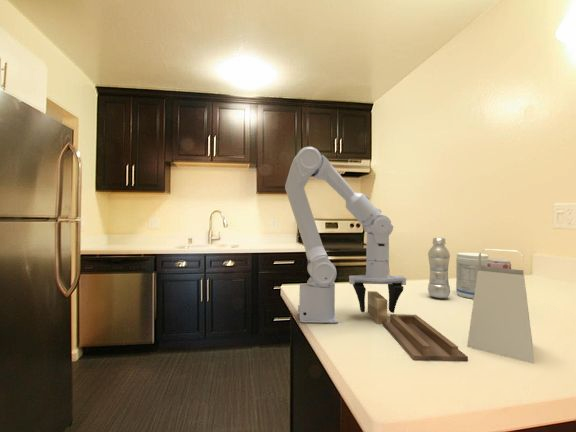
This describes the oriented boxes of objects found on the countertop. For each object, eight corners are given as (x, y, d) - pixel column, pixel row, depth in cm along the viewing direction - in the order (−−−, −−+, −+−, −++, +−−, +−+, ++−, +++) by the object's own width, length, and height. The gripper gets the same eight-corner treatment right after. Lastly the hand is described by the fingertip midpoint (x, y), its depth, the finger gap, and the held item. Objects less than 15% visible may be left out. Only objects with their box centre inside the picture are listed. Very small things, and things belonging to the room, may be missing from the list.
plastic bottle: (453, 301, 94) (453, 239, 94) (430, 299, 95) (431, 238, 95) (446, 296, 100) (446, 238, 100) (425, 294, 101) (425, 237, 101)
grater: (474, 332, 68) (474, 246, 68) (532, 344, 61) (533, 250, 61) (467, 346, 60) (467, 249, 60) (533, 363, 53) (534, 254, 53)
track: (413, 360, 54) (413, 345, 54) (382, 324, 72) (382, 314, 72) (467, 361, 54) (467, 346, 54) (423, 325, 72) (423, 314, 72)
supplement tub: (462, 291, 107) (462, 251, 107) (492, 297, 100) (493, 254, 100) (451, 295, 101) (451, 253, 101) (483, 301, 94) (483, 256, 94)
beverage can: (500, 315, 80) (500, 261, 80) (481, 309, 85) (482, 258, 85) (516, 314, 81) (516, 260, 81) (496, 308, 87) (496, 258, 87)
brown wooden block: (376, 324, 72) (377, 300, 72) (367, 312, 81) (367, 291, 81) (387, 324, 72) (387, 300, 72) (376, 312, 81) (376, 291, 81)
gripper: (399, 258, 81) (398, 307, 81) (347, 257, 81) (346, 306, 81) (409, 262, 74) (409, 315, 74) (352, 261, 74) (351, 314, 74)
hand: (376, 311), depth 77 cm, fingers open, 7 cm apart
